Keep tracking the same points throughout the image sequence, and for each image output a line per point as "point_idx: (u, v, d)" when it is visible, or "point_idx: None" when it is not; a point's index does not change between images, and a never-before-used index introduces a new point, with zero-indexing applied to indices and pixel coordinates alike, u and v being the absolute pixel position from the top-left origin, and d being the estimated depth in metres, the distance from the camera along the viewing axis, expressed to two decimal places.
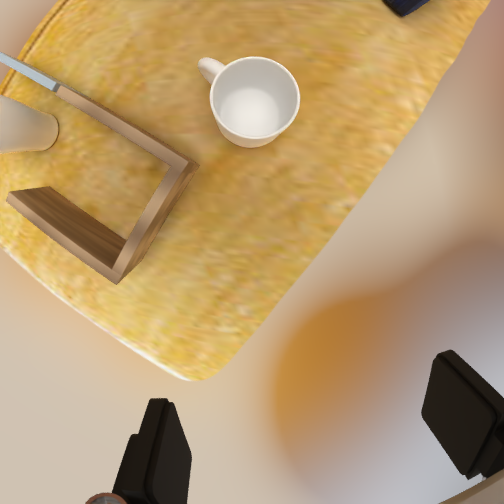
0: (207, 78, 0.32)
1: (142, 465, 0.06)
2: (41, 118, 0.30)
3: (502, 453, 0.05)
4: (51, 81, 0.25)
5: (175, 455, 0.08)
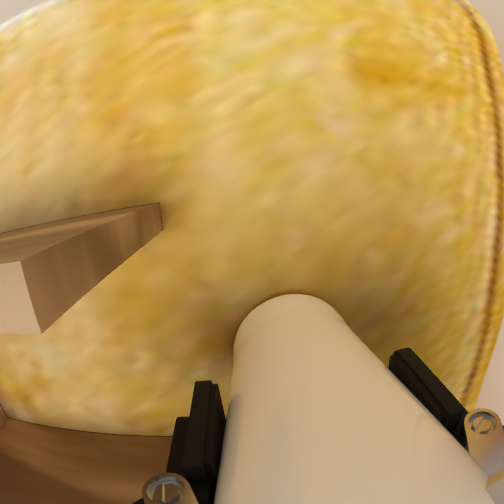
0: None
1: (199, 442, 0.07)
2: None
3: None
4: None
5: (221, 434, 0.09)
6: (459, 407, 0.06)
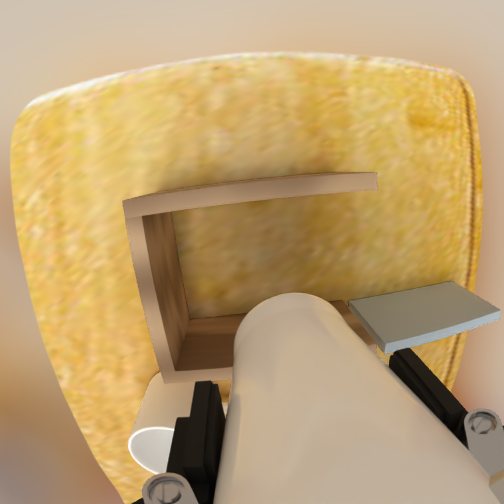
0: None
1: (199, 442, 0.07)
2: None
3: None
4: (392, 350, 0.24)
5: (221, 435, 0.09)
6: (459, 406, 0.06)
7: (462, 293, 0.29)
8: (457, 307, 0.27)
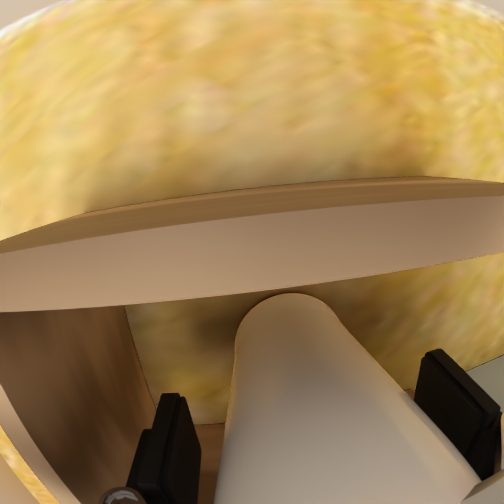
0: None
1: (157, 458, 0.06)
2: None
3: (489, 452, 0.05)
4: None
5: (187, 449, 0.08)
6: (496, 405, 0.06)
7: None
8: None
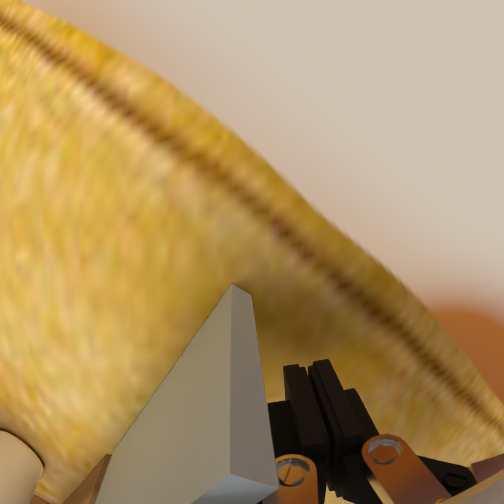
0: None
1: (311, 420, 0.07)
2: None
3: (352, 479, 0.06)
4: None
5: None
6: (358, 430, 0.07)
7: (210, 352, 0.10)
8: (159, 454, 0.08)
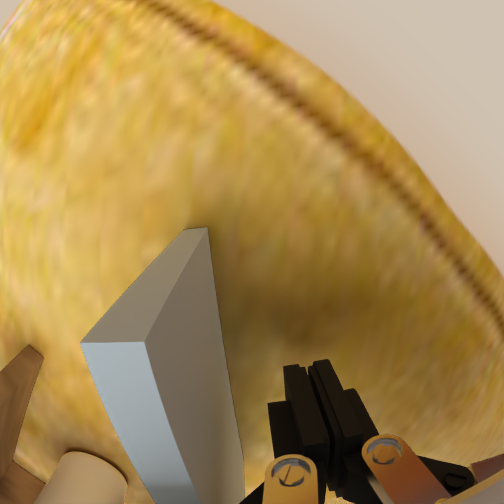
0: None
1: (311, 420, 0.07)
2: None
3: (352, 479, 0.06)
4: None
5: None
6: (359, 430, 0.07)
7: None
8: None
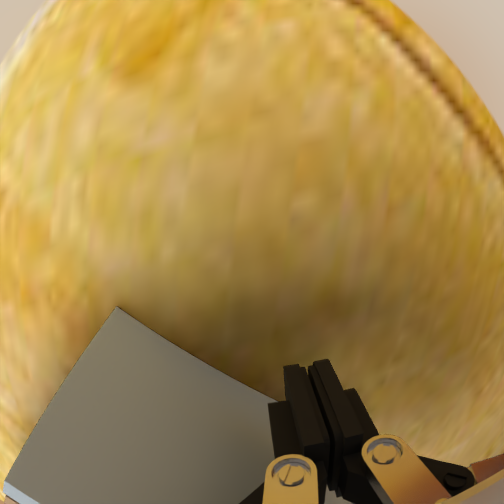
0: None
1: (312, 420, 0.07)
2: None
3: (352, 479, 0.06)
4: None
5: None
6: (359, 430, 0.07)
7: None
8: None
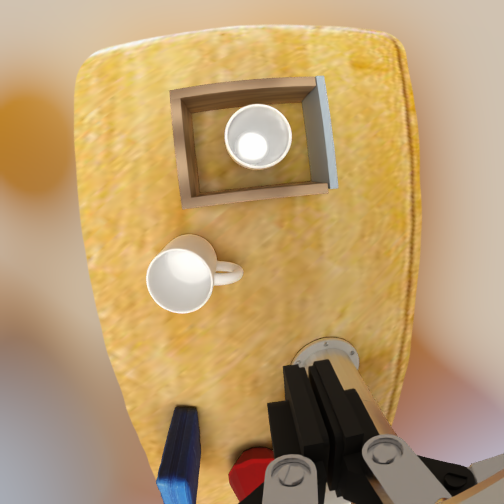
0: (232, 264, 0.44)
1: (311, 421, 0.07)
2: None
3: (352, 479, 0.06)
4: (336, 182, 0.36)
5: None
6: (359, 430, 0.07)
7: (307, 96, 0.39)
8: (314, 111, 0.37)
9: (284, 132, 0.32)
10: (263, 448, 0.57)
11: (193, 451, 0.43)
